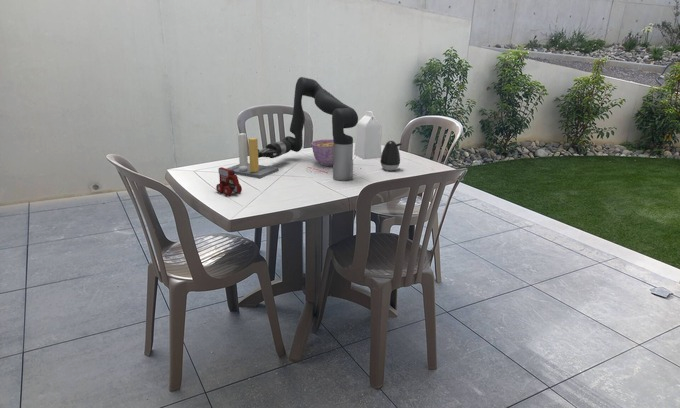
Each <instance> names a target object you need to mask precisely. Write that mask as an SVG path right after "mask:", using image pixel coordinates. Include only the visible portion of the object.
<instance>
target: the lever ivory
mask: <svg viewBox="0 0 680 408" xmlns="http://www.w3.org/2000/svg"><path fill="white" fill-rule="evenodd" d="M247 141H248V137H247V133H243V132H242V133H238V134H237V143H238V144H237V145H238V158H239V159H238V160H239V161H238V162H239V163H238V164H240V165H241V166H246V165H248V163H249V160H248V158H249V154H248V142H247Z"/></svg>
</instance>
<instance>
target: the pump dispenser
mask: <svg viewBox="0 0 680 408" xmlns="http://www.w3.org/2000/svg"><path fill="white" fill-rule="evenodd" d="M399 146H402V142H400V143H396V142H395V141H394V140H388V141H387V142H386V143H385V145H384V147H383V149H382V150H381V158H380V167H382V169H383V170H384V171H387V170H394V171H396V170H397V169H399V166H400V165H401V156H400V151H399Z"/></svg>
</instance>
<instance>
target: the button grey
mask: <svg viewBox="0 0 680 408" xmlns="http://www.w3.org/2000/svg"><path fill="white" fill-rule="evenodd" d="M239 171H240V172H246V171H248V169H247V166H239Z"/></svg>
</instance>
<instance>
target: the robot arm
mask: <svg viewBox="0 0 680 408" xmlns="http://www.w3.org/2000/svg"><path fill="white" fill-rule="evenodd" d="M303 97H309V98H312V99H314V105H315V106H316V107H317V108H318V109H319V110H320V111H322V112H323V113H325V114H327V115H330V116H331V124H332V127H331V129H332V133H331V134H332V138H333V139H332V140H333V166H332V179H333V180H336V181H351V180H353V176H354V174H353V173H354V160H353V158H354V157H353V156H354V154H353V151H354V138H353V136H351V135H349V134H346V133H345V130H344V129H352V128H354V127H357V123H358V122H359V117H358V116H359V115H358V113H357V112H356V110H355V109H354V108H353V107H351V106H349V105H347V104H345V103H343V102H342V101H341V100H339V99H338V98H336V97H335V96H334V95H333V94H332V93H330V92H329V91H328V90H326V89H325V88H323V87H322V86H321V84H320V83H319V82H318V81H317V80H315V79H313V78H308V77H303V76H300V77H299V78H298V79H297V81H296V84H295V89H294V97H293V111H292V117H291V122H290V127H289V132H290V133H291V134H293V135H294V136H290V135H287V136H285V137H284V138H283V139H282V140H278V141H275V142H271V143H268V144H267V145H266V146H265V147H264V148H262V149H259V148H258V159H259V158H270V159H275V158H278V157H281V156H282V155H285V154H287V153H289V152H291V151H292V152H295V153H298V152H301V150H302V148H303V130H304V127H305V121H306V119H305V113H304V109H303V104H302V99H303Z"/></svg>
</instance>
